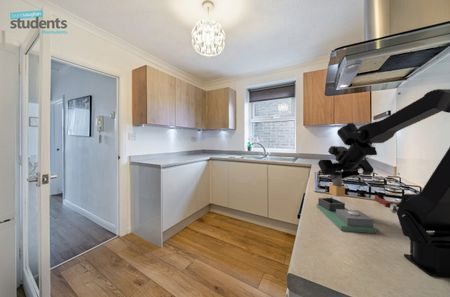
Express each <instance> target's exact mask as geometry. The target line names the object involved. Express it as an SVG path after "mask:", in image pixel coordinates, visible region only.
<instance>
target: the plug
mask: <svg viewBox="0 0 450 297" xmlns="http://www.w3.org/2000/svg"><path fill="white" fill-rule="evenodd" d="M342 171H343V170H341V171H340V172H339V173H340V174H341V175H340V176H338V177H336V178H335V179H332V183H329V194H330V195H333V196H334V197H345V196H346V194H345V193H346V186H344V185H342V184H343V183H342V182H343V179H342Z"/></svg>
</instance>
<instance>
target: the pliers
mask: <svg viewBox="0 0 450 297" xmlns="http://www.w3.org/2000/svg"><path fill="white" fill-rule="evenodd" d="M375 200H376V201H375ZM374 201H375V202H377V203H378V204H381V205H383V206H384V207H385V208H389V210H390V212H392V213H393V211H394V210H395V211H397V209H398V208H399V207H396V205H398V204H399V203H400V202H401V201H400V202H395V203H393V202H391V201H388V200H386V199H383V198H382V197H379V195H375V196H374Z"/></svg>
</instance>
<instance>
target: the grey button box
mask: <svg viewBox="0 0 450 297" xmlns="http://www.w3.org/2000/svg"><path fill="white" fill-rule="evenodd" d="M336 216H337V217H338V218H339V219H340V220H341V221H343V222H344V223H345V224H346V225H348V226H362V227H374V223H375V222H374V221H375V220H374V219H373V218H372V217H370V216H369V215H367V214H366V213H363V211H360V210H359V209H358V210H356V209H348V210H343V209H336Z"/></svg>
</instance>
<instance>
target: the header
mask: <svg viewBox="0 0 450 297" xmlns="http://www.w3.org/2000/svg"><path fill="white" fill-rule="evenodd" d="M317 202H318V203H317V204H318V205H319V206H321V207H323V208H325V209H327V210H328V211H336V209H343V210H345V208H346V204H345V202H342V201H340V200H337V199H335V198H334V197H318V201H317Z"/></svg>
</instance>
